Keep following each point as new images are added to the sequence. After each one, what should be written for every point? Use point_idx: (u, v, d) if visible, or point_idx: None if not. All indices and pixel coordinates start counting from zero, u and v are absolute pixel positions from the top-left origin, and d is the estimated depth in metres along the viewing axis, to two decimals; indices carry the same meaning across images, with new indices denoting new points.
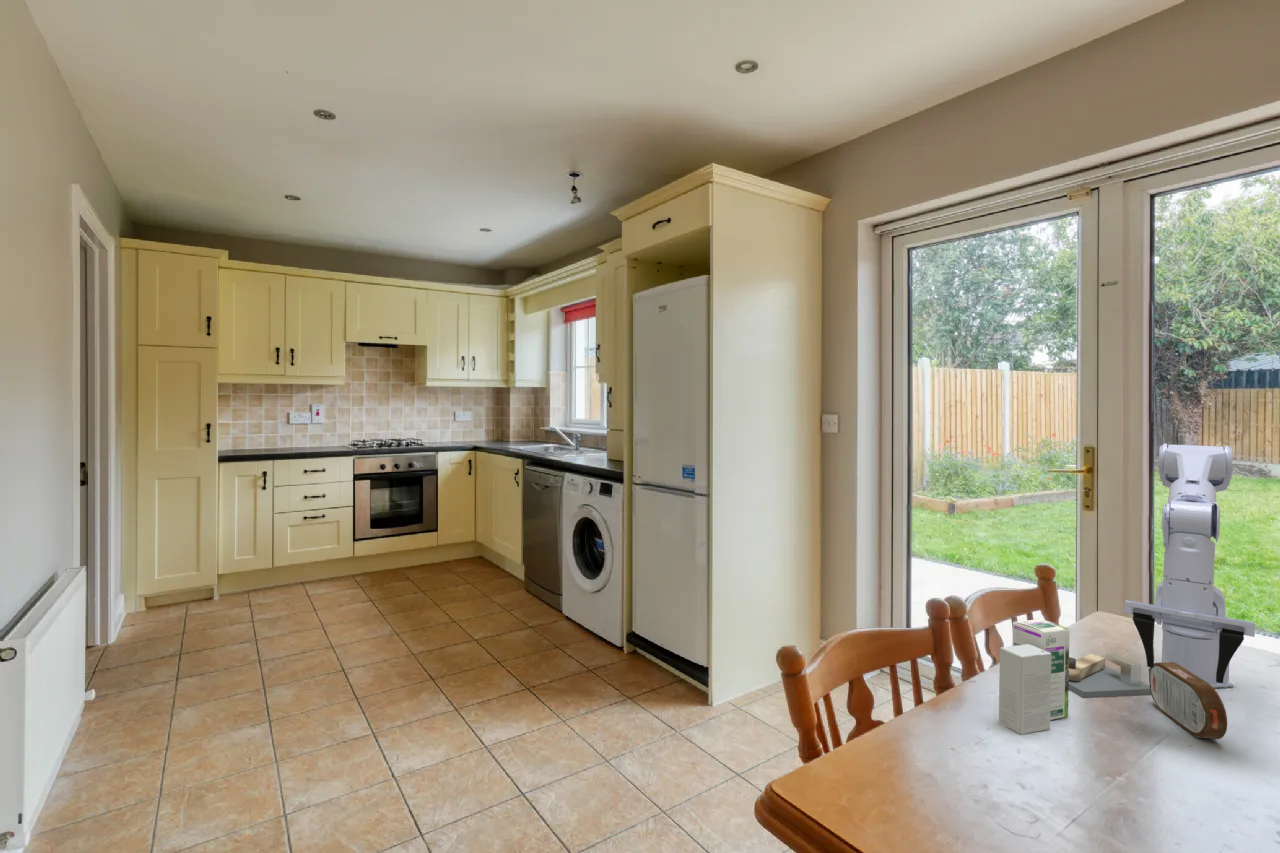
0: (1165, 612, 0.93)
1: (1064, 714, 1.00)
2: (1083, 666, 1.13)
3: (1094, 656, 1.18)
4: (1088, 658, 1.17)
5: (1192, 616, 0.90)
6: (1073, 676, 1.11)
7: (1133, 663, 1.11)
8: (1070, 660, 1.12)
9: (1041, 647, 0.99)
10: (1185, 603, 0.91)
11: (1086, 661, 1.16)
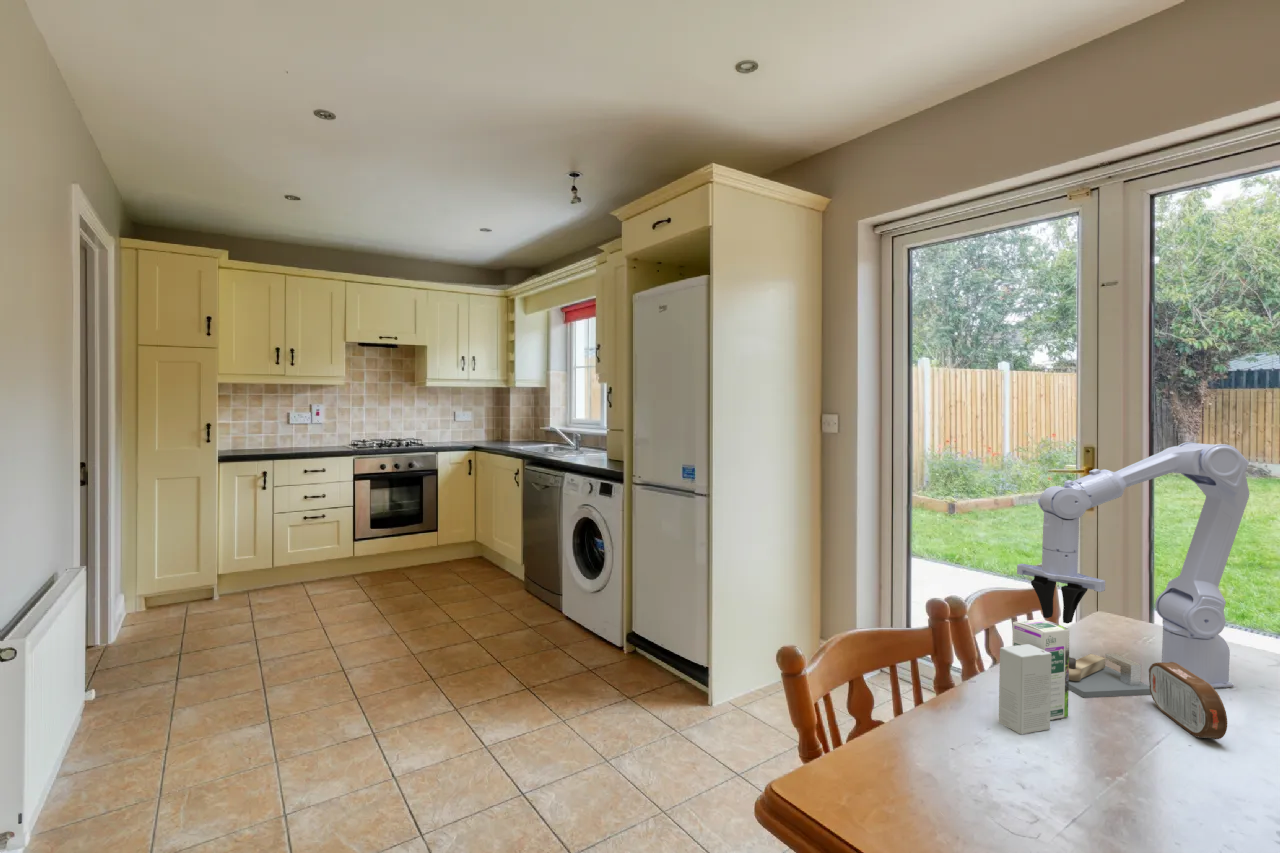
0: (1040, 574, 1.21)
1: (1064, 714, 1.00)
2: (1083, 666, 1.13)
3: (1094, 656, 1.18)
4: (1088, 658, 1.17)
5: (1053, 577, 1.17)
6: (1073, 676, 1.11)
7: (1133, 663, 1.11)
8: (1070, 660, 1.12)
9: (1041, 647, 0.99)
10: (1051, 567, 1.18)
11: (1086, 661, 1.16)
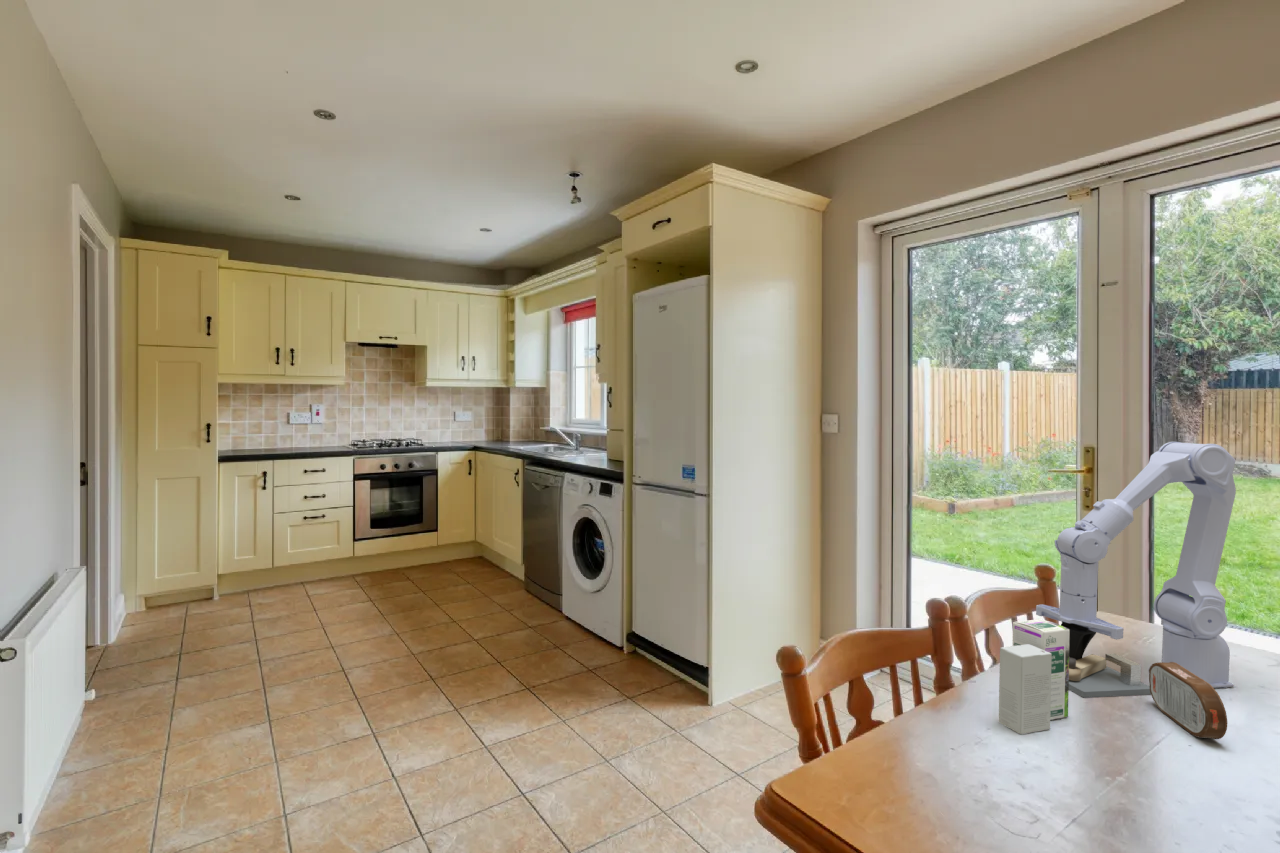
0: (1056, 616, 1.19)
1: (1064, 714, 1.00)
2: (1083, 666, 1.13)
3: (1095, 656, 1.18)
4: (1089, 658, 1.17)
5: (1068, 621, 1.15)
6: (1073, 676, 1.11)
7: (1133, 663, 1.11)
8: (1070, 660, 1.12)
9: (1041, 647, 0.99)
10: (1067, 611, 1.16)
11: (1087, 661, 1.16)
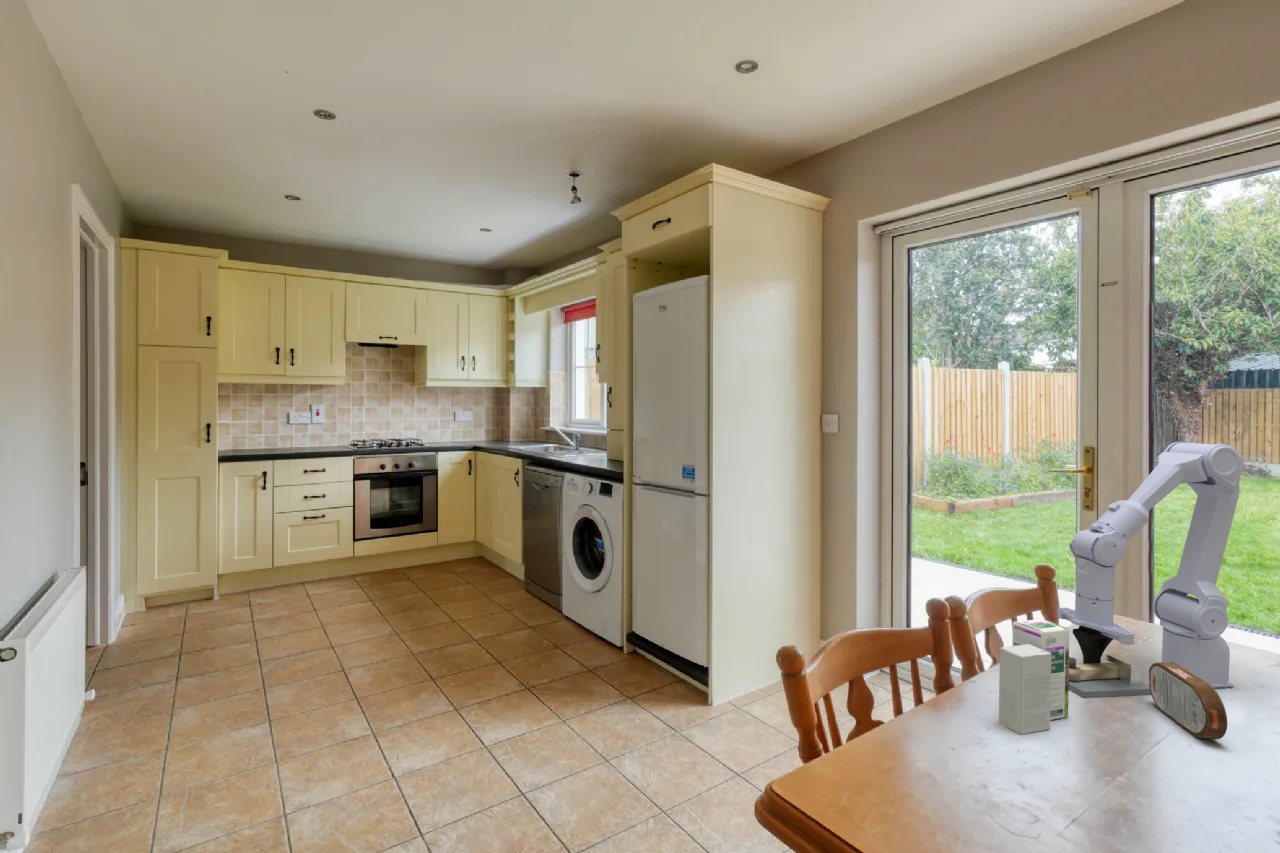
0: (1071, 619, 1.17)
1: (1064, 714, 1.00)
2: (1088, 669, 1.12)
3: None
4: (1106, 664, 1.14)
5: (1077, 624, 1.14)
6: (1069, 675, 1.12)
7: (1133, 663, 1.11)
8: None
9: (1041, 647, 0.99)
10: (1079, 613, 1.15)
11: (1100, 666, 1.14)
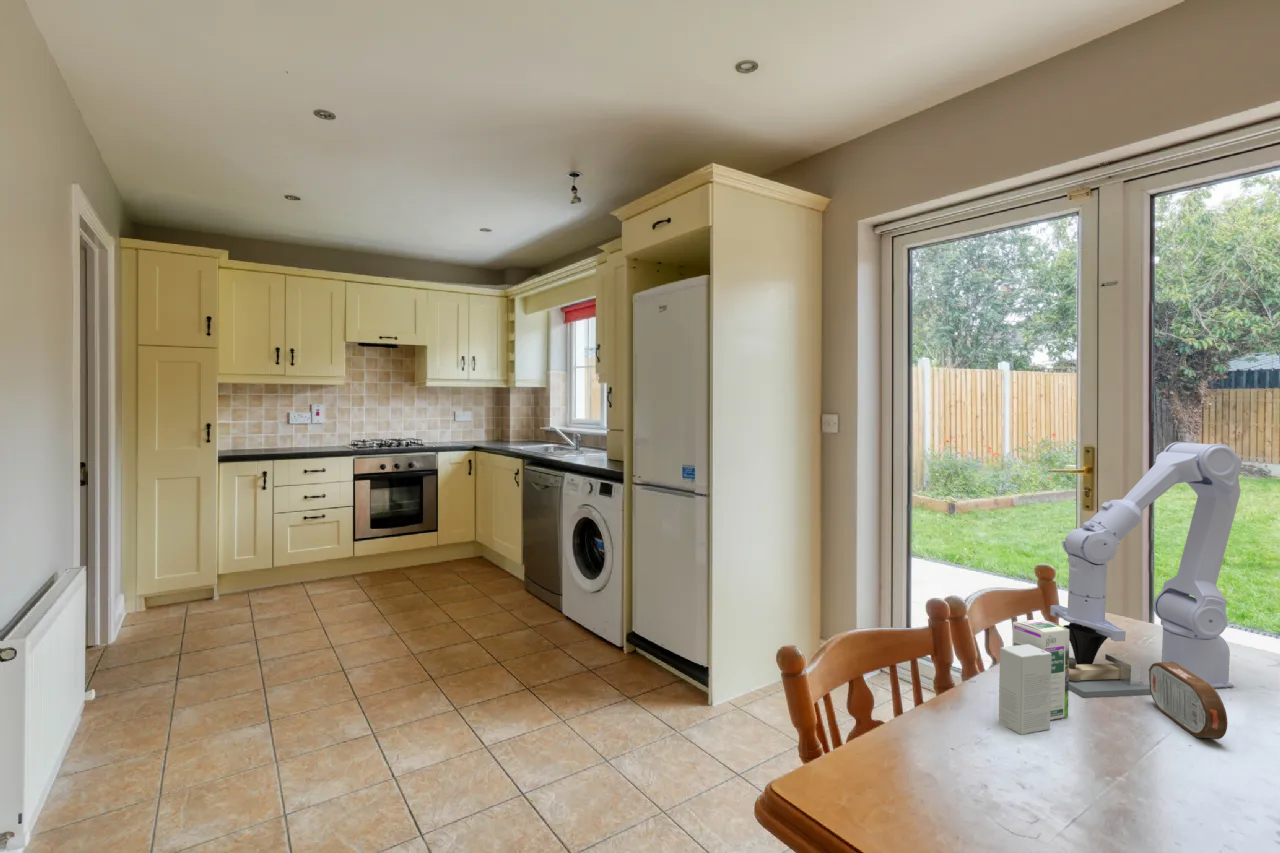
0: (1064, 616, 1.19)
1: (1064, 714, 1.00)
2: (1088, 669, 1.12)
3: None
4: (1108, 665, 1.14)
5: (1070, 621, 1.15)
6: None
7: (1133, 663, 1.11)
8: None
9: (1041, 647, 0.99)
10: (1072, 611, 1.16)
11: (1102, 666, 1.13)
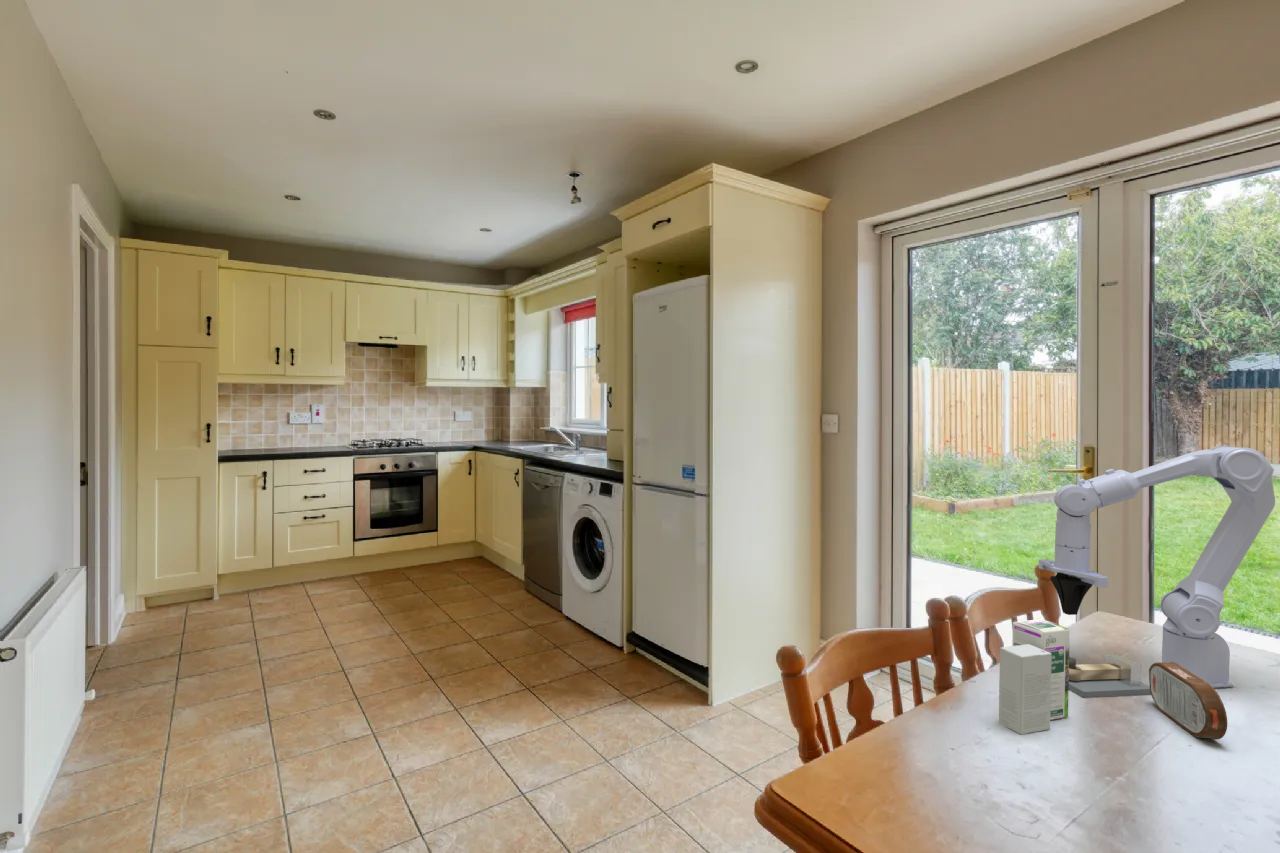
0: (1051, 568, 1.26)
1: (1064, 714, 1.00)
2: (1088, 669, 1.12)
3: None
4: (1108, 665, 1.14)
5: (1056, 571, 1.22)
6: None
7: (1133, 663, 1.11)
8: None
9: (1041, 647, 0.99)
10: (1058, 561, 1.23)
11: (1102, 666, 1.13)
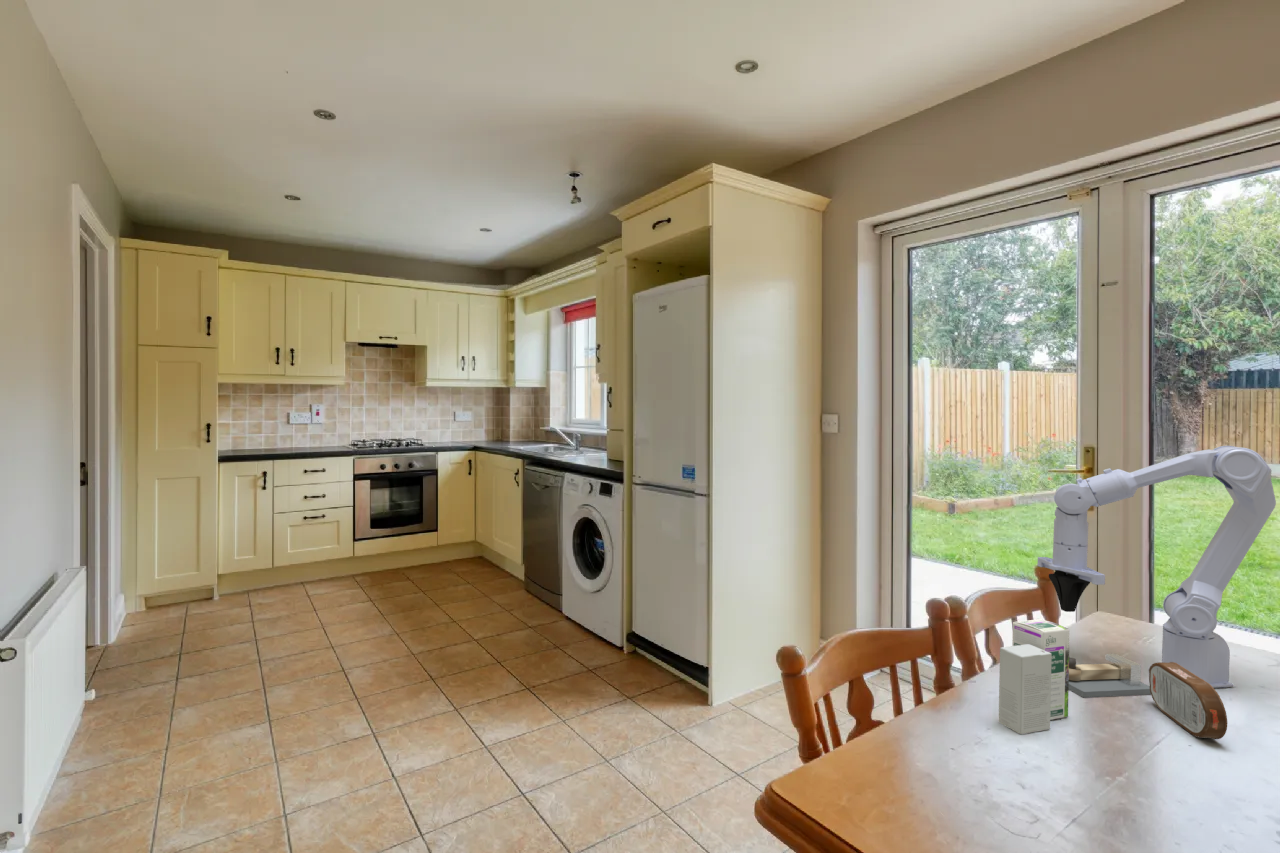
0: None
1: (1064, 714, 1.00)
2: (1088, 669, 1.12)
3: None
4: (1108, 665, 1.14)
5: (1054, 568, 1.24)
6: None
7: (1133, 663, 1.11)
8: None
9: (1041, 647, 0.99)
10: (1056, 559, 1.25)
11: (1102, 666, 1.13)
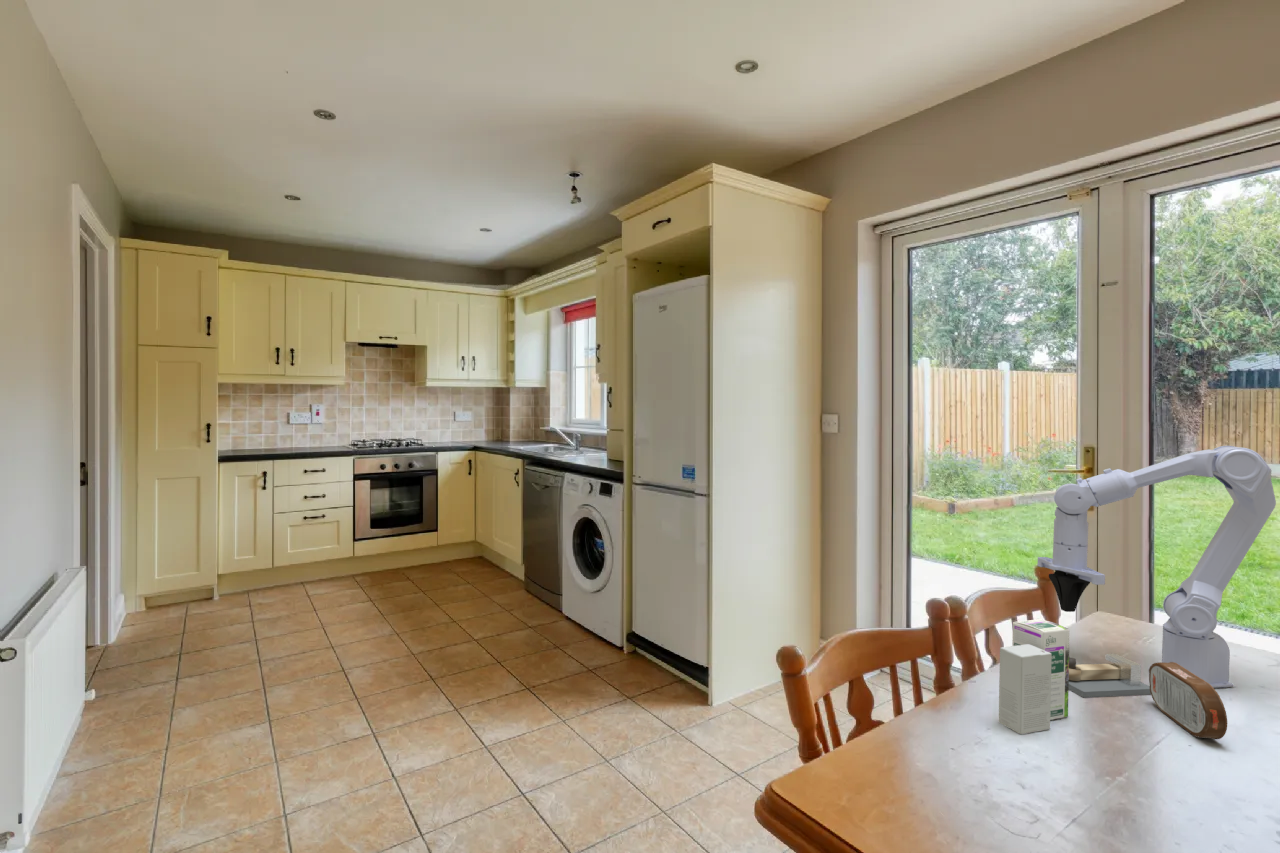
0: None
1: (1064, 714, 1.00)
2: (1088, 669, 1.12)
3: None
4: (1108, 665, 1.14)
5: (1054, 568, 1.24)
6: None
7: (1133, 663, 1.11)
8: None
9: (1041, 647, 0.99)
10: (1056, 559, 1.25)
11: (1102, 666, 1.13)
